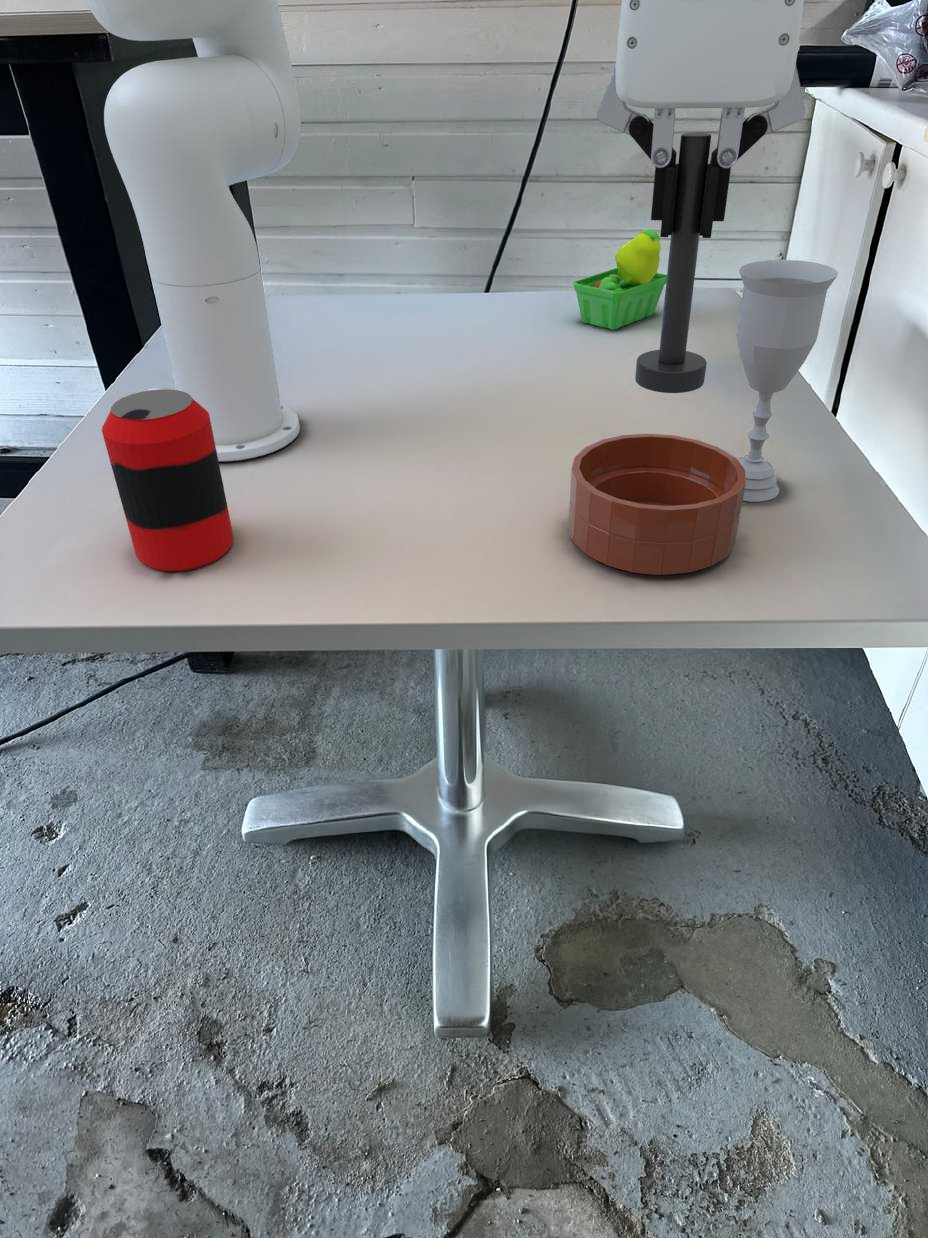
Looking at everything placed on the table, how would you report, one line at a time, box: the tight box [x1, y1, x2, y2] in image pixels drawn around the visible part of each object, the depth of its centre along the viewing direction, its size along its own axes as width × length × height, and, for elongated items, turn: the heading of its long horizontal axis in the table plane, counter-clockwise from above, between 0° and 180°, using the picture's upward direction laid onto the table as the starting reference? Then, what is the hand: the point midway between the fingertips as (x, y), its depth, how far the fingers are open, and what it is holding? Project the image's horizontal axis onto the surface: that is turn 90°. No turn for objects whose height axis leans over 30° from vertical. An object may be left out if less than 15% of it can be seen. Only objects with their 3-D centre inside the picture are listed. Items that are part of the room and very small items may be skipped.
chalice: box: [735, 259, 839, 503], centre depth 72 cm, size 7×7×18 cm
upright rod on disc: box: [634, 132, 712, 394], centre depth 59 cm, size 5×5×16 cm
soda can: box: [101, 388, 234, 572], centre depth 67 cm, size 8×8×12 cm
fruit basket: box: [572, 228, 667, 331], centre depth 113 cm, size 11×9×11 cm
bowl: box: [567, 433, 746, 576], centre depth 69 cm, size 13×13×6 cm
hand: (685, 230), depth 57 cm, fingers closed on upright rod on disc
